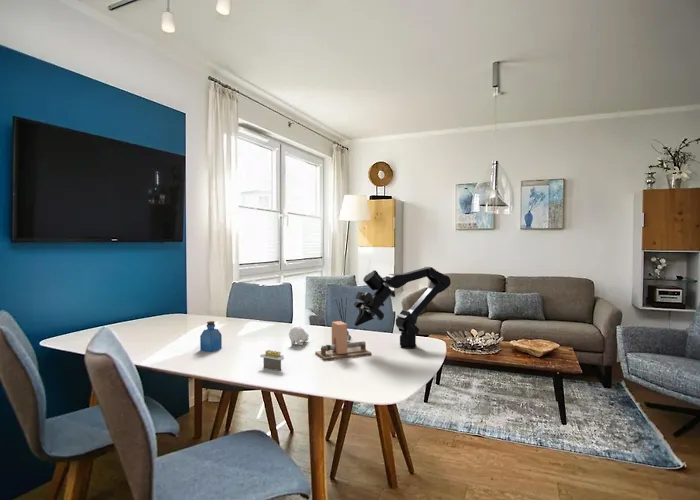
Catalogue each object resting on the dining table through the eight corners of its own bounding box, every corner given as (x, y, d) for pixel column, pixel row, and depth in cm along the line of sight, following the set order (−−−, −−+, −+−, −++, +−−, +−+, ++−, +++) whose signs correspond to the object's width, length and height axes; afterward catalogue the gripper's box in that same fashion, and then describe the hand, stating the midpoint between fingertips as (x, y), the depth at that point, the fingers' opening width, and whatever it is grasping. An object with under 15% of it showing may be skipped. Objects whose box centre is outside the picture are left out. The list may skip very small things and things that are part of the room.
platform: (265, 362, 165) (264, 345, 165) (303, 368, 157) (303, 350, 156) (243, 370, 154) (243, 352, 154) (283, 377, 146) (283, 358, 146)
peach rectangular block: (340, 349, 177) (340, 321, 177) (347, 353, 171) (347, 324, 170) (331, 350, 176) (331, 321, 175) (338, 354, 169) (337, 324, 169)
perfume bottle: (200, 350, 182) (200, 322, 181) (211, 347, 187) (211, 320, 187) (210, 352, 179) (210, 323, 178) (221, 348, 184) (221, 321, 184)
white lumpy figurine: (288, 326, 189) (301, 323, 200) (287, 345, 189) (300, 341, 200) (300, 327, 187) (312, 324, 198) (299, 346, 186) (312, 343, 197)
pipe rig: (360, 348, 183) (360, 337, 183) (371, 355, 173) (371, 343, 173) (315, 353, 175) (315, 342, 175) (324, 360, 165) (324, 348, 165)
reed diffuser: (344, 344, 192) (344, 300, 191) (330, 342, 195) (330, 299, 194) (353, 339, 201) (353, 297, 200) (340, 337, 204) (340, 296, 203)
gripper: (357, 282, 186) (334, 309, 182) (377, 287, 169) (352, 316, 165) (373, 299, 190) (351, 326, 185) (394, 305, 172) (370, 334, 168)
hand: (355, 325), depth 176 cm, fingers closed
